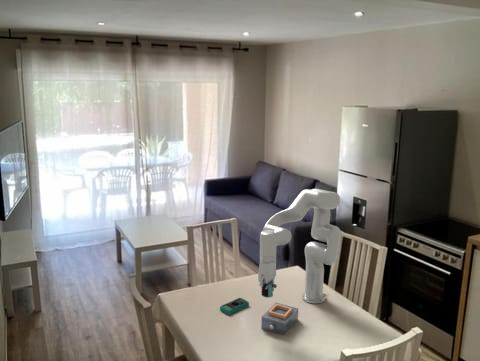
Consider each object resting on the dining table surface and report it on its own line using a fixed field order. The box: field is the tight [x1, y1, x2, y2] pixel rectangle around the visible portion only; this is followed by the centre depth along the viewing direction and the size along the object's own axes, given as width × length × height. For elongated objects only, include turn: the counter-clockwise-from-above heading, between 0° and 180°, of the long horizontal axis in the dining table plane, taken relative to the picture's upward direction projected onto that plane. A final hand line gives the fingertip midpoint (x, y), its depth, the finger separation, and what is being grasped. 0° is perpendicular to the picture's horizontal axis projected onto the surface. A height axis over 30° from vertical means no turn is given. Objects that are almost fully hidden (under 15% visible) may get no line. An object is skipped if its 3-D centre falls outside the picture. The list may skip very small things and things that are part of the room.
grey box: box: [261, 302, 299, 336], centre depth 206 cm, size 18×12×8 cm, turn 151°
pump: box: [262, 280, 278, 298], centre depth 202 cm, size 5×7×7 cm
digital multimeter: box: [219, 297, 250, 316], centre depth 223 cm, size 7×15×3 cm, turn 134°
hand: (267, 293), depth 203 cm, fingers closed on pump, 5 cm apart
